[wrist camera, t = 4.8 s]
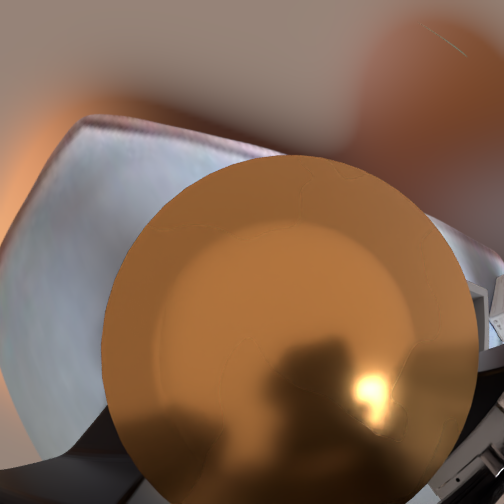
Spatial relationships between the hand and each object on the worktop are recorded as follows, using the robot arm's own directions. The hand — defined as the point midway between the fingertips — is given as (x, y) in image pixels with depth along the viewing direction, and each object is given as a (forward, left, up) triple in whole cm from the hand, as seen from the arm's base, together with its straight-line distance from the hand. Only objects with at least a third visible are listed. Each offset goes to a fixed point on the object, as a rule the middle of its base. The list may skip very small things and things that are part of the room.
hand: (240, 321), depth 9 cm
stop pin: (-1, -1, -7) cm, 7 cm away
